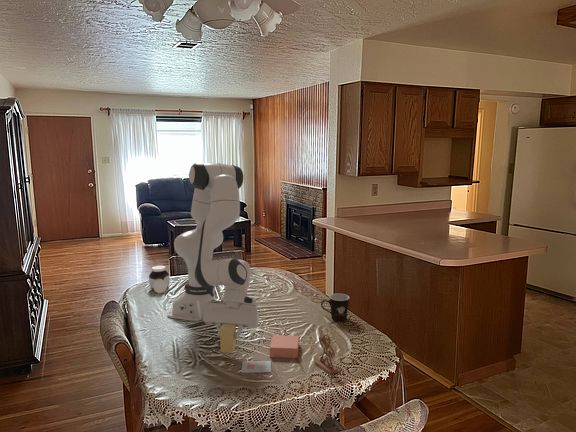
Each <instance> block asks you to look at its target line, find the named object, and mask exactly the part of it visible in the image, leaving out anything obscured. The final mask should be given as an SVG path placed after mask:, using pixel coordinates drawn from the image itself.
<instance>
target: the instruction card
mask: <svg viewBox="0 0 576 432" xmlns="http://www.w3.org/2000/svg"><path fill="white" fill-rule="evenodd" d="M241 364H242V365H241V371H240V373H241V374H245V373H246V374H247V373H249V374H252V373H253V374H255V373H271V372H272V360H261V361H260V360H259V361H258V360H257V361H255V360H253V361H252V360H251V361H250V360H249V361H242V363H241Z"/></svg>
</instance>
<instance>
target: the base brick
mask: <svg viewBox="0 0 576 432" xmlns="http://www.w3.org/2000/svg"><path fill="white" fill-rule="evenodd" d="M271 337H272V338H271V341H270V344H269V345H270V346H269V357H270V358H288V359H289V358H290V359H293V358H294V359H298V357H299V355H298V354H299V348H300V347H299V346H300V345H299V344H300V336H299V335H284V334H283V335H278V334H273V335H272V336H271Z"/></svg>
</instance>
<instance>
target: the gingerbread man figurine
mask: <svg viewBox="0 0 576 432" xmlns="http://www.w3.org/2000/svg"><path fill="white" fill-rule="evenodd" d="M318 340H319V341H318V342H319V344H320V346H321V347H322V348H323V351H322V355H321V357H320V358H319V359H318V360H315V361H314V365H315V366H316V367H319V369H321V370H322V371H323V372H326V373H327V374H328V375H330V376H331V375H334V374H336V373H339V372H340V368H338V367H336V366H335V365H334V364H333V362H332V359H334V358H335V357H336V353H335V350H334V348H333V346H331V343H332V340H331V337H330V335H329V334H324V335H323V336H322V335H321V336H319V337H318ZM328 349H330V350H328ZM324 356H325V358H324Z"/></svg>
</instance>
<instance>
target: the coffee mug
mask: <svg viewBox="0 0 576 432" xmlns="http://www.w3.org/2000/svg"><path fill="white" fill-rule="evenodd" d="M325 302H327V303H328V304H329V306H330V310H328V309H327V308H325V307H324V306H323V304H324V303H325ZM349 302H350V296H349V295H348V294H345V293H332V294H330V295H329V300H328V299H325V300H323V301H321V303H320V306H321V308H322V309H323V310H324V311H326V312H328V313H329V314H330V315H331V320H332V321H333V322H336V323H337V322H338V323H339V322H341V323H342V322H345V321H347V317H348V310H349V304H350V303H349Z"/></svg>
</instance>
